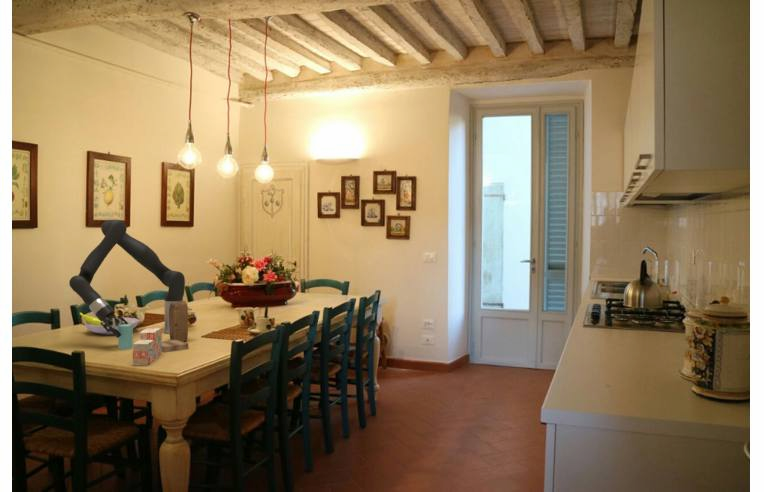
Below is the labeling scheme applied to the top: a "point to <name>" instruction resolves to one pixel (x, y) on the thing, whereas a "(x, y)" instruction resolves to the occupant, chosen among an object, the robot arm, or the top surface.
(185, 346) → the slab
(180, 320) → the block
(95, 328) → the fruit bowl
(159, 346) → the stack of blocks
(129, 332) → the post
